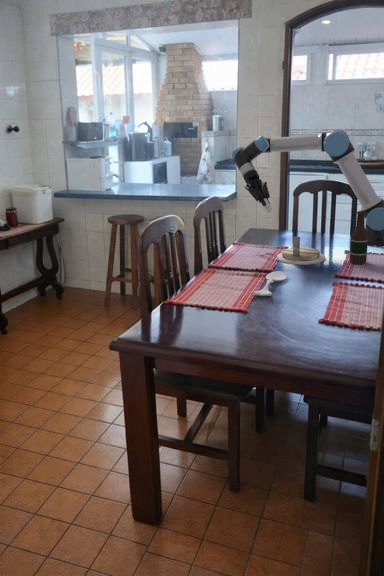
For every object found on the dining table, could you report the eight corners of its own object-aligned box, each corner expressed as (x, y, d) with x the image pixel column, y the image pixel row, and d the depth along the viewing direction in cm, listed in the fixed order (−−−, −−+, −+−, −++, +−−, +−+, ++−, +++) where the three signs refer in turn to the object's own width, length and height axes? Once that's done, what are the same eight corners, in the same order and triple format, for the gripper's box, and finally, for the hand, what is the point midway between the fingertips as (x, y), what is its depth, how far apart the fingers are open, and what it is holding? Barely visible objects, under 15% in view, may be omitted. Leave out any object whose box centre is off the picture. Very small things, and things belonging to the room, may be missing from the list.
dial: (288, 249, 262) (289, 228, 259) (323, 253, 254) (324, 231, 250) (276, 258, 247) (277, 236, 244) (313, 262, 239) (314, 239, 236)
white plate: (297, 249, 266) (297, 247, 266) (334, 257, 249) (334, 255, 249) (267, 258, 253) (267, 256, 252) (304, 267, 236) (304, 265, 235)
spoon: (248, 299, 200) (248, 291, 199) (269, 275, 227) (269, 268, 226) (270, 302, 196) (270, 293, 195) (289, 277, 224) (289, 269, 223)
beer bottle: (364, 260, 244) (368, 209, 236) (368, 264, 236) (372, 212, 229) (347, 260, 245) (350, 210, 237) (350, 264, 237) (354, 213, 230)
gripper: (256, 177, 270) (276, 213, 262) (236, 179, 264) (255, 216, 256) (262, 167, 264) (283, 204, 255) (242, 170, 258) (262, 207, 249)
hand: (269, 210), depth 256 cm, fingers closed
